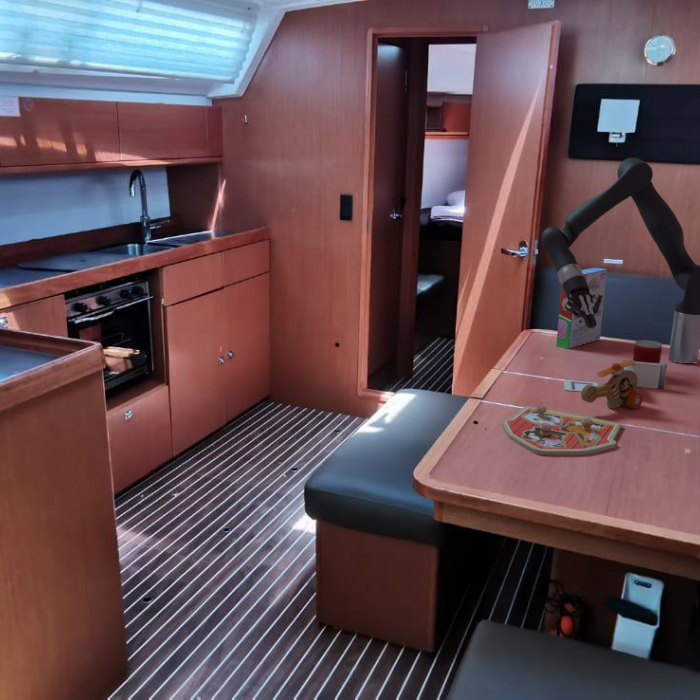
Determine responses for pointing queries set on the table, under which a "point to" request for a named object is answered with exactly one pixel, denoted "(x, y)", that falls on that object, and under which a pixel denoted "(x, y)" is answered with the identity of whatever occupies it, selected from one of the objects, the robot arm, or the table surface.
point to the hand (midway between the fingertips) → (593, 327)
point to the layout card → (577, 385)
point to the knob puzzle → (560, 432)
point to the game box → (575, 328)
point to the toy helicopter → (616, 387)
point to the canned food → (647, 351)
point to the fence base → (650, 374)
